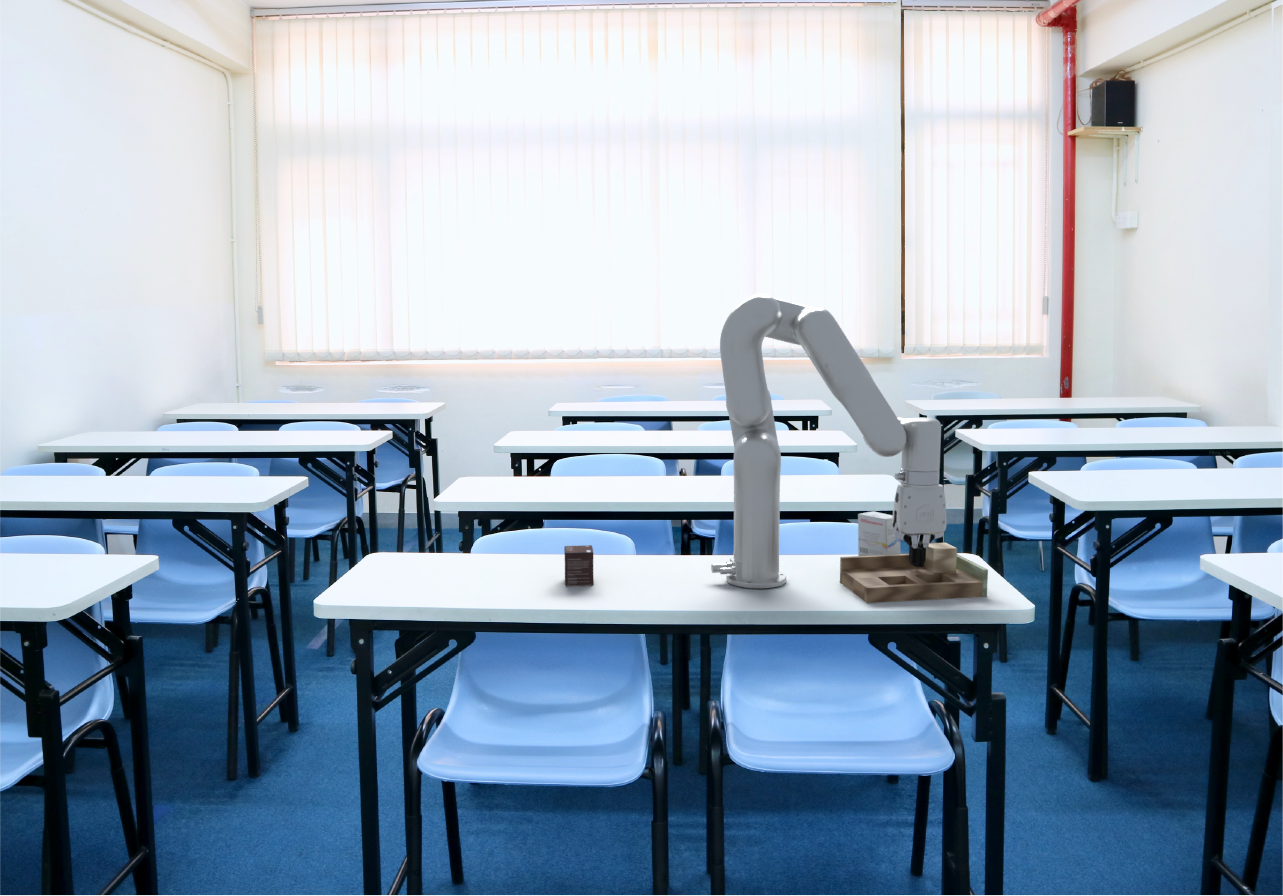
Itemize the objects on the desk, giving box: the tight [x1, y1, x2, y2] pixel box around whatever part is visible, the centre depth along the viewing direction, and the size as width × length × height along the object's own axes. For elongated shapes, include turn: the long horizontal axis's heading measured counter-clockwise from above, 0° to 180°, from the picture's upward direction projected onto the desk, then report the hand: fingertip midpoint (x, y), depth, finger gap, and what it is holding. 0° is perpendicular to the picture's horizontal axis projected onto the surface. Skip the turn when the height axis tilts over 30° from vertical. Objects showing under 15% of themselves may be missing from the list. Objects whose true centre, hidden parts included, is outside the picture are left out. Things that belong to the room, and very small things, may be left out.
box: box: [564, 544, 595, 587], centre depth 205 cm, size 6×6×7 cm
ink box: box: [857, 511, 901, 556], centre depth 215 cm, size 9×5×12 cm, turn 34°
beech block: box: [924, 542, 958, 573], centre depth 202 cm, size 5×5×5 cm
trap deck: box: [839, 553, 989, 604], centre depth 198 cm, size 25×15×6 cm, turn 98°
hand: (916, 565), depth 201 cm, fingers closed
